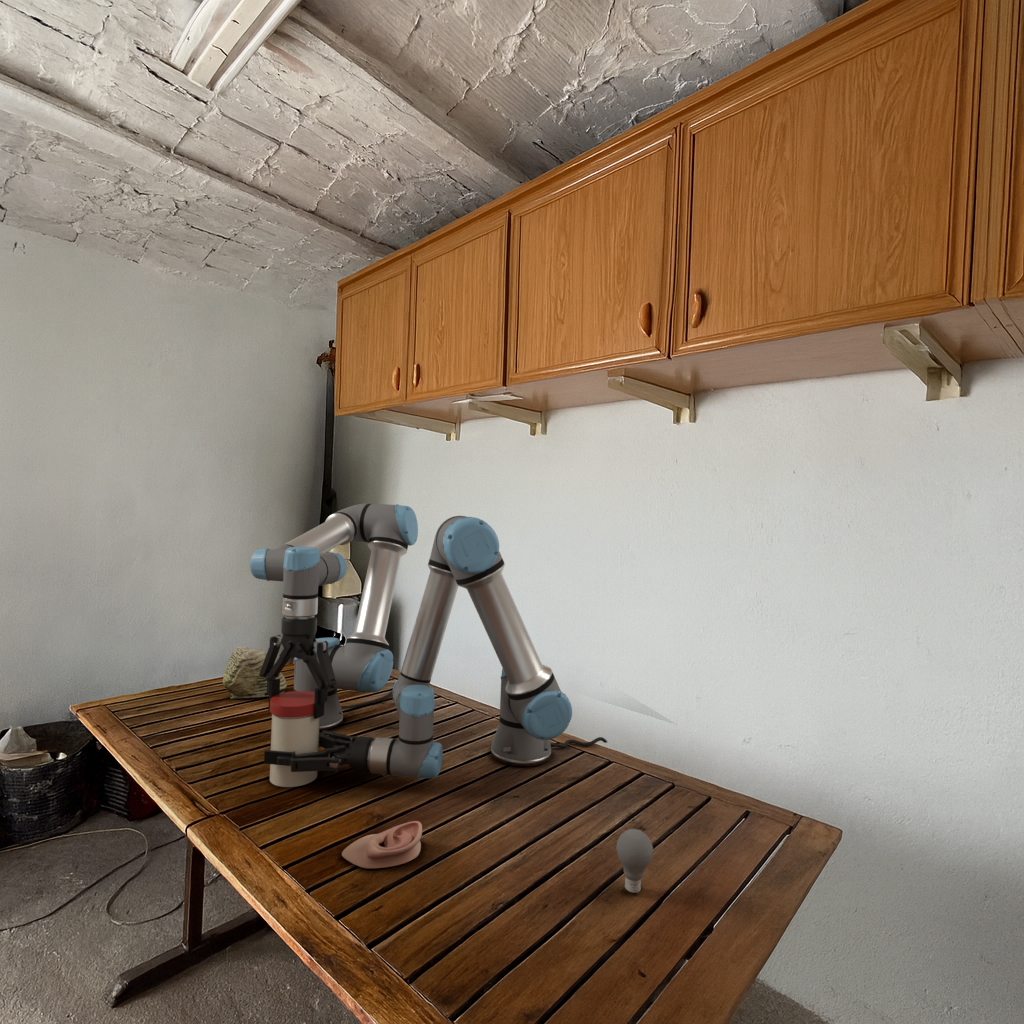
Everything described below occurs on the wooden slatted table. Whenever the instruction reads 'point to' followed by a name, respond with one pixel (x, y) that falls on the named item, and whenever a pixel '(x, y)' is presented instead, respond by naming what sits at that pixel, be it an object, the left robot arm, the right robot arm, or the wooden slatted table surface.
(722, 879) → the wooden slatted table surface
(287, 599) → the left robot arm
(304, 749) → the jar
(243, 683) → the fossil
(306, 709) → the lid
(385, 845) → the anatomical model
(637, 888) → the light bulb
